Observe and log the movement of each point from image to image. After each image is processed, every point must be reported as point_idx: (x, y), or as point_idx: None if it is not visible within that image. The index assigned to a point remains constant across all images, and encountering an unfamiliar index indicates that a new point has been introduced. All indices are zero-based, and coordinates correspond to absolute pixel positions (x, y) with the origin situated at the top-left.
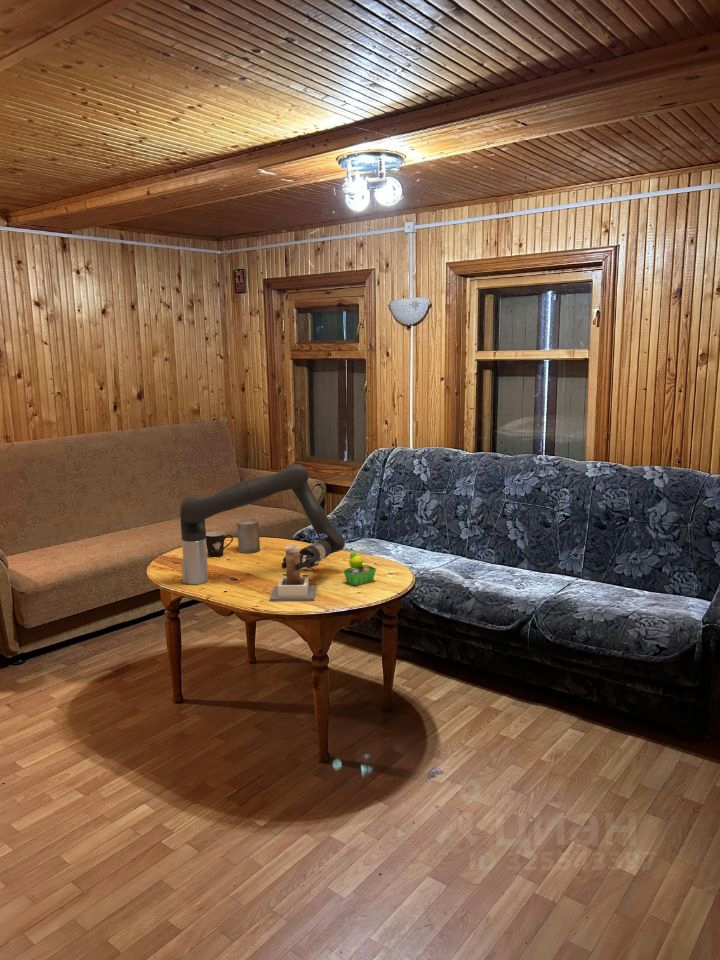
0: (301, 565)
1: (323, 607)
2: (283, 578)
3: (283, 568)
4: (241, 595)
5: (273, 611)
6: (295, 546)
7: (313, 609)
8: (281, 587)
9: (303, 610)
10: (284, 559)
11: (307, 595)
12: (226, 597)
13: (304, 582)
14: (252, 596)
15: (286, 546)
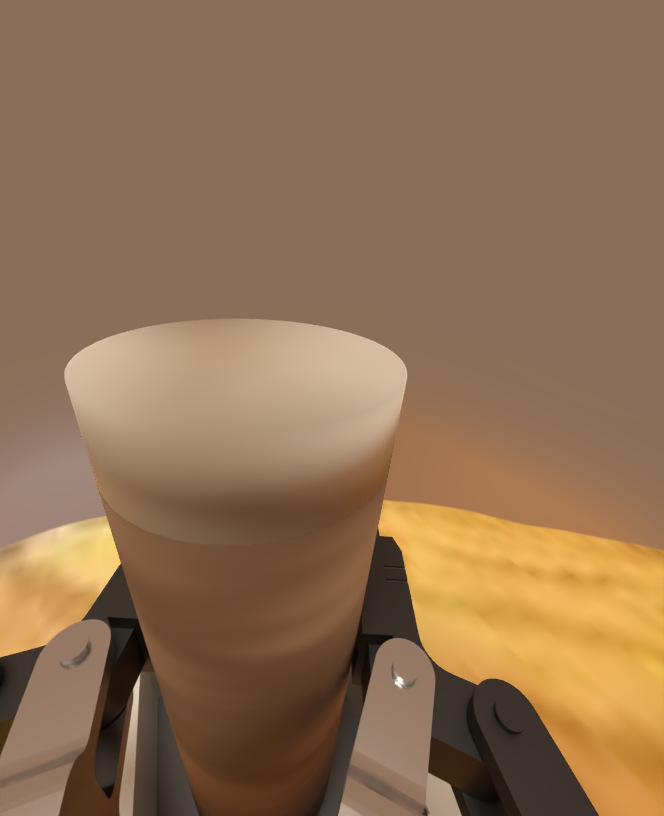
0: (121, 574)
1: (23, 580)
2: (429, 802)
3: None
4: (555, 601)
5: None
6: (184, 359)
7: (94, 540)
8: None
9: None
10: (481, 687)
11: None
12: (572, 553)
13: (131, 738)
14: (494, 608)
15: (380, 352)
